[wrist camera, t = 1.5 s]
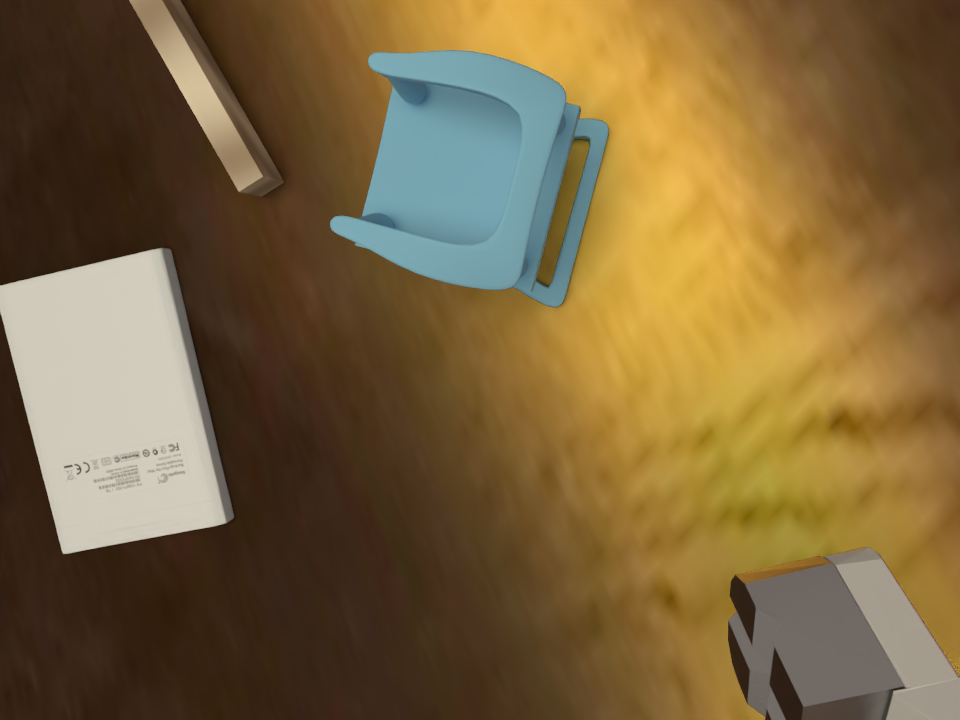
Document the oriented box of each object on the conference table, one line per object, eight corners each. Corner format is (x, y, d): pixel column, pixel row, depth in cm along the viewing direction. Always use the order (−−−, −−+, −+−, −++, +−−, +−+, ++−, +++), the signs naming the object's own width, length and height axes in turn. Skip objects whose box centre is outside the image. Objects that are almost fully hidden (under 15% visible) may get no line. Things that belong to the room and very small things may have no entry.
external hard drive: (176, 248, 41) (239, 515, 42) (13, 286, 42) (77, 545, 43) (158, 247, 39) (224, 525, 40) (-11, 287, 41) (57, 556, 41)
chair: (419, 79, 38) (332, -6, 27) (612, 126, 37) (611, 59, 26) (376, 258, 39) (273, 253, 28) (562, 308, 38) (539, 325, 27)
